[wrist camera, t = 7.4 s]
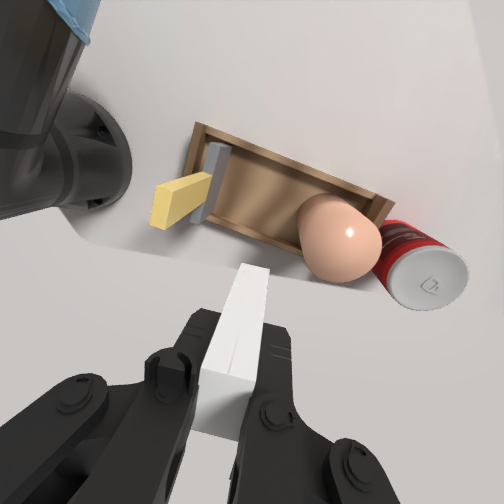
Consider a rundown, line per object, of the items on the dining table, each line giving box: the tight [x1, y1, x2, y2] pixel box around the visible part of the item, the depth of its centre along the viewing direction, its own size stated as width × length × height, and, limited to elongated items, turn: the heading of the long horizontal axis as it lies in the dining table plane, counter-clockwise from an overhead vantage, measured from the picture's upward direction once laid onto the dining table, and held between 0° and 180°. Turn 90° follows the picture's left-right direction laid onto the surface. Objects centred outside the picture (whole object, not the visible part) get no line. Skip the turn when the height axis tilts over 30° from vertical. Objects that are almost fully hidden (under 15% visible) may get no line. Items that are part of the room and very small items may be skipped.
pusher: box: [149, 142, 233, 230], centre depth 25 cm, size 1×9×18 cm, turn 160°
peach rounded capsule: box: [296, 193, 382, 283], centre depth 29 cm, size 8×8×11 cm
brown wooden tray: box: [183, 122, 395, 283], centre depth 32 cm, size 25×12×6 cm, turn 70°
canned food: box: [371, 220, 469, 311], centre depth 30 cm, size 8×8×11 cm
